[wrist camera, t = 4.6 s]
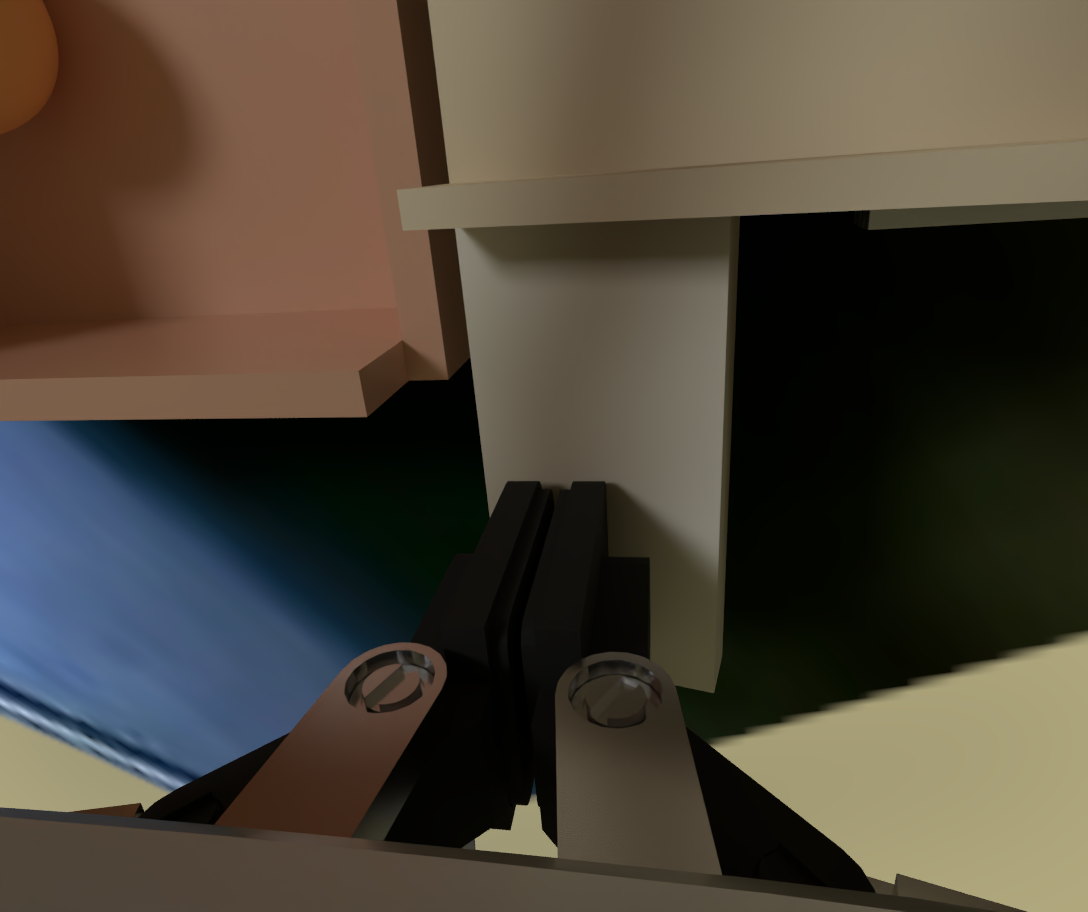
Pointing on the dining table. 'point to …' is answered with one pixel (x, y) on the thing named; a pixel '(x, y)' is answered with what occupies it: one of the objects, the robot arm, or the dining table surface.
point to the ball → (25, 61)
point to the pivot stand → (968, 214)
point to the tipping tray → (700, 218)
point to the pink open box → (226, 215)
